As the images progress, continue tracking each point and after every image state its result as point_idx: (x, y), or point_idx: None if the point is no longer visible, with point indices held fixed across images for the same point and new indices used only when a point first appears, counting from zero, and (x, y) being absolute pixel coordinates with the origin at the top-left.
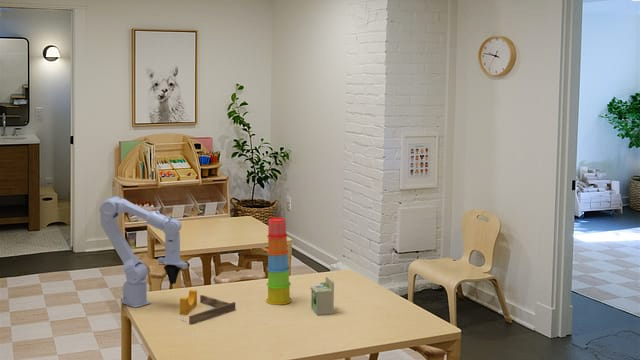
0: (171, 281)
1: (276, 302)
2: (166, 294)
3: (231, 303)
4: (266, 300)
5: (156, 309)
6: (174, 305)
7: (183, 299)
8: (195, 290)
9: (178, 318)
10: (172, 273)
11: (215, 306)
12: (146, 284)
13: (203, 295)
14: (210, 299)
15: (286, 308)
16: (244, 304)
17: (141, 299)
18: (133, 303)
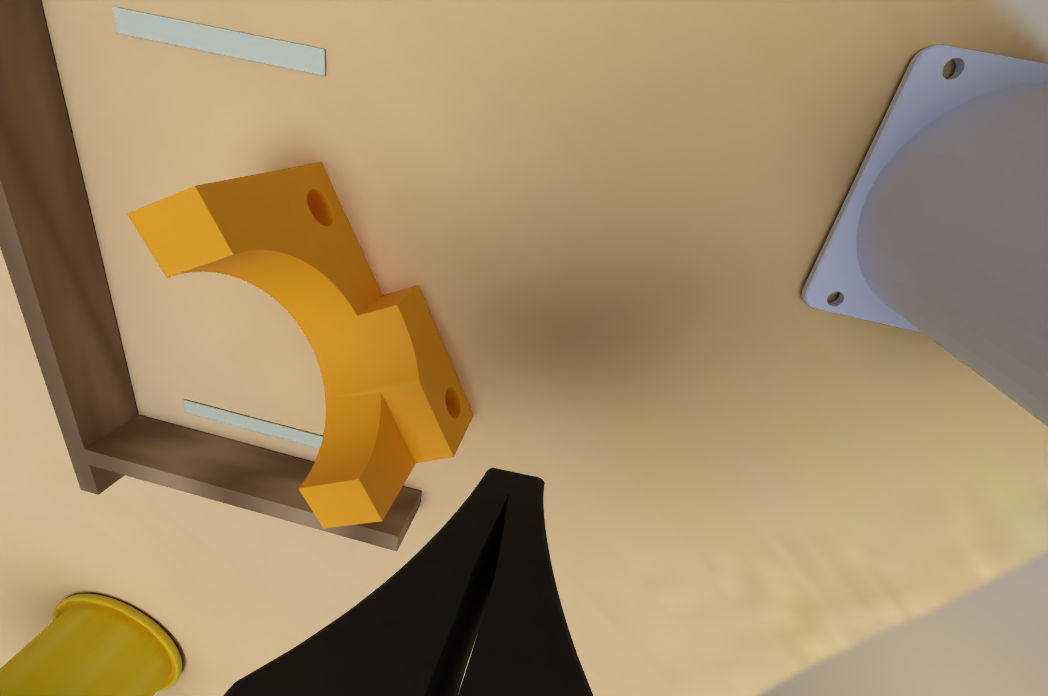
0: (478, 491)
1: (74, 608)
2: (801, 560)
3: (78, 464)
4: (147, 625)
5: (629, 162)
6: (547, 355)
7: (161, 200)
8: (328, 520)
9: (226, 32)
10: (344, 614)
11: (255, 451)
12: (1021, 392)
13: (377, 543)
14: (281, 496)
15: (7, 566)
16: (189, 552)
17: (920, 176)
18: (1013, 90)
